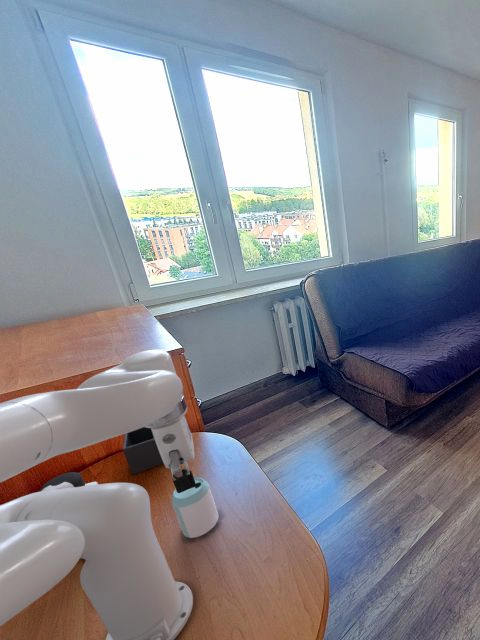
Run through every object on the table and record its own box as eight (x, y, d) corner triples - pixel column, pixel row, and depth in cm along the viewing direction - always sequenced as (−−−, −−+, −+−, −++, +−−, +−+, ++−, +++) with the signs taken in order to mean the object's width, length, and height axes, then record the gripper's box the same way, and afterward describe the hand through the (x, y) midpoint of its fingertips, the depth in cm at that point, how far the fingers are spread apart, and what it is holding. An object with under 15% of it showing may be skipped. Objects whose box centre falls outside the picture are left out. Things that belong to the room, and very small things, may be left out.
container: (67, 515, 80) (45, 474, 76) (108, 503, 83) (89, 463, 79) (49, 543, 74) (24, 501, 69) (95, 530, 77) (73, 488, 72)
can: (204, 508, 82) (192, 471, 78) (226, 516, 80) (214, 479, 76) (176, 534, 76) (161, 495, 72) (198, 544, 74) (184, 505, 70)
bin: (176, 458, 98) (168, 434, 94) (132, 474, 92) (122, 449, 89) (175, 439, 105) (168, 416, 102) (134, 453, 99) (125, 429, 96)
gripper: (188, 425, 62) (209, 492, 69) (183, 384, 75) (201, 443, 81) (136, 442, 58) (165, 512, 64) (140, 395, 71) (164, 457, 77)
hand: (185, 474), depth 73 cm, fingers open, 9 cm apart
